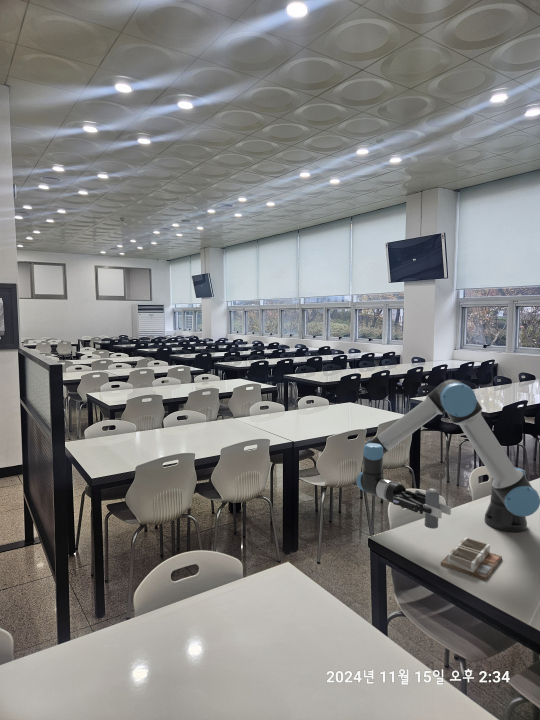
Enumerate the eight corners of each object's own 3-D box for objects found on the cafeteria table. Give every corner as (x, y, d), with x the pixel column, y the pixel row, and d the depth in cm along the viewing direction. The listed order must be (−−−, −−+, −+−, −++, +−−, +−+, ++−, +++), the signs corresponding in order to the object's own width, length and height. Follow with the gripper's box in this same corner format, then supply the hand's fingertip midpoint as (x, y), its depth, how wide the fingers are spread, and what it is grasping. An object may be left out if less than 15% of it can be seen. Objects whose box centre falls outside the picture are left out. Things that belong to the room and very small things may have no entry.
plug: (427, 521, 165) (428, 486, 164) (440, 525, 162) (441, 489, 161) (422, 525, 162) (423, 489, 161) (435, 529, 159) (436, 492, 158)
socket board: (459, 545, 168) (460, 534, 167) (501, 559, 159) (502, 547, 158) (440, 564, 154) (441, 553, 154) (485, 580, 145) (486, 568, 145)
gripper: (406, 496, 181) (460, 517, 162) (375, 506, 172) (428, 529, 152) (407, 477, 181) (461, 496, 162) (375, 486, 171) (429, 507, 152)
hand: (445, 512), depth 157 cm, fingers closed on plug, 4 cm apart
